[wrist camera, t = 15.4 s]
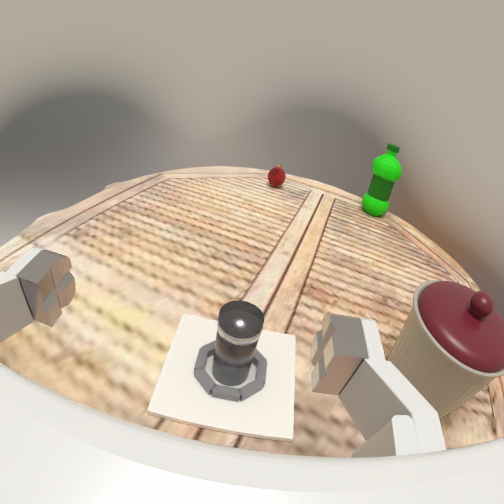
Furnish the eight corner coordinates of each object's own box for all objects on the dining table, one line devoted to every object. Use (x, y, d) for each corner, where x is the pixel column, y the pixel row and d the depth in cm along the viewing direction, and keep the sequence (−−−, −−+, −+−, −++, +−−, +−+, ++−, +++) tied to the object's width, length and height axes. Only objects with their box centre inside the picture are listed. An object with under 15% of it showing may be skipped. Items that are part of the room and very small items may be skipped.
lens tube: (207, 382, 38) (214, 327, 32) (215, 353, 42) (223, 296, 36) (246, 390, 38) (262, 337, 32) (251, 360, 42) (266, 305, 36)
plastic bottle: (379, 222, 95) (404, 151, 81) (353, 208, 100) (374, 139, 87) (389, 216, 102) (411, 151, 88) (365, 203, 107) (384, 140, 94)
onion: (277, 191, 100) (282, 169, 96) (262, 185, 102) (267, 163, 98) (285, 188, 104) (290, 166, 100) (271, 182, 107) (276, 161, 102)
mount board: (147, 413, 33) (145, 405, 31) (183, 317, 48) (183, 306, 46) (290, 441, 33) (296, 434, 31) (293, 339, 48) (297, 329, 47)
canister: (406, 463, 30) (514, 372, 19) (340, 374, 43) (403, 262, 32) (467, 407, 38) (544, 319, 26) (409, 341, 51) (465, 247, 39)
